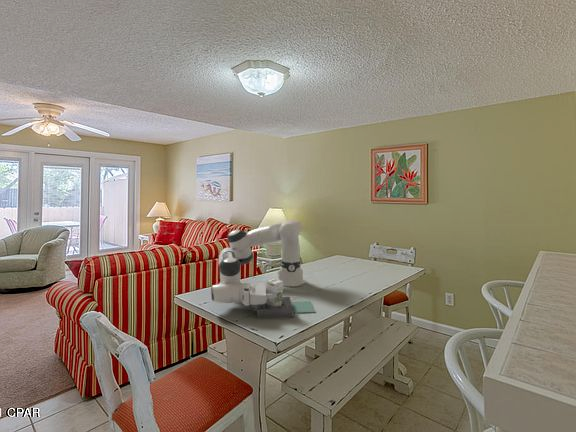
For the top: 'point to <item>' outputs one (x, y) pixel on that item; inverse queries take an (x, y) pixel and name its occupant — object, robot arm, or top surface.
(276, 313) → the iron collar
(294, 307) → the rubber mat
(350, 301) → the top surface
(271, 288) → the syrup box
